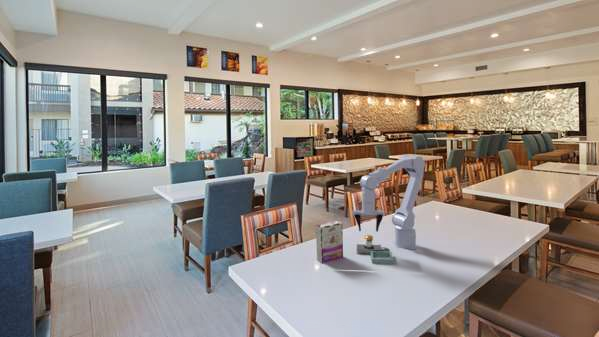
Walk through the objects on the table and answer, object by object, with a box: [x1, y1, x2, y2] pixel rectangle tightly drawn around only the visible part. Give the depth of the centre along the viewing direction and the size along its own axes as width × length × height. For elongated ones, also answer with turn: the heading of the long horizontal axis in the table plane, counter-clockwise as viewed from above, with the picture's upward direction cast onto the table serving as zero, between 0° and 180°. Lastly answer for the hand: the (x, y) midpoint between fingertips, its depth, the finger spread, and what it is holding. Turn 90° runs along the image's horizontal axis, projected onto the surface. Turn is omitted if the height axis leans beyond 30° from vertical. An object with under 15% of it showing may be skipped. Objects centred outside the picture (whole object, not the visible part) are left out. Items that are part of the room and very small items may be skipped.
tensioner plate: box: [356, 243, 391, 255], centre depth 149 cm, size 15×7×3 cm, turn 81°
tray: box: [370, 251, 395, 265], centre depth 140 cm, size 9×9×2 cm
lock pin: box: [364, 234, 374, 249], centre depth 149 cm, size 4×4×7 cm
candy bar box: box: [315, 220, 344, 264], centre depth 142 cm, size 11×5×16 cm, turn 117°
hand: (368, 230), depth 149 cm, fingers open, 7 cm apart
